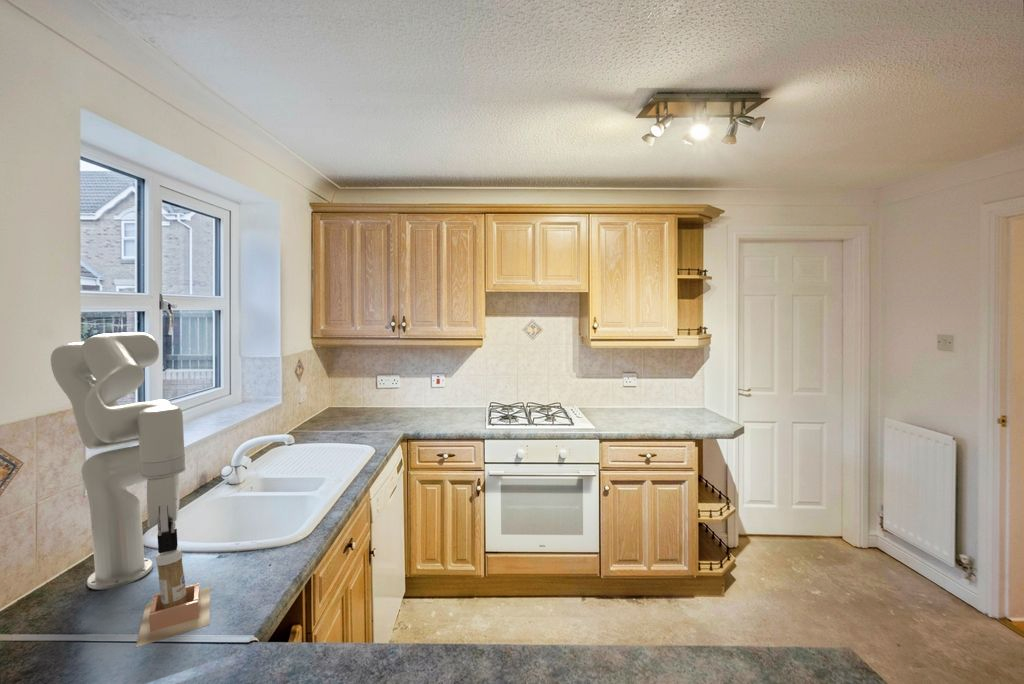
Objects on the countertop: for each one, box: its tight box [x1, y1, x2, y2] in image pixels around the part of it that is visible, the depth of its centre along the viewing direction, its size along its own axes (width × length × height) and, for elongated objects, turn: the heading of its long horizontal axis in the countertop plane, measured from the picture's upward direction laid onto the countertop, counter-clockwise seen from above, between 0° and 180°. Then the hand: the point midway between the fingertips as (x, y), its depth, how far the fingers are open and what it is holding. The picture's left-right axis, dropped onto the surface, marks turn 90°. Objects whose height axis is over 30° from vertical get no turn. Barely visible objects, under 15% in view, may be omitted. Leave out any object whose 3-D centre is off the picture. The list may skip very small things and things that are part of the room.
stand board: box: [135, 586, 211, 648], centre depth 101 cm, size 16×12×1 cm
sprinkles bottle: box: [155, 546, 187, 609], centre depth 101 cm, size 5×5×13 cm
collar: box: [149, 582, 201, 632], centre depth 101 cm, size 8×8×4 cm
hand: (168, 549), depth 101 cm, fingers closed
